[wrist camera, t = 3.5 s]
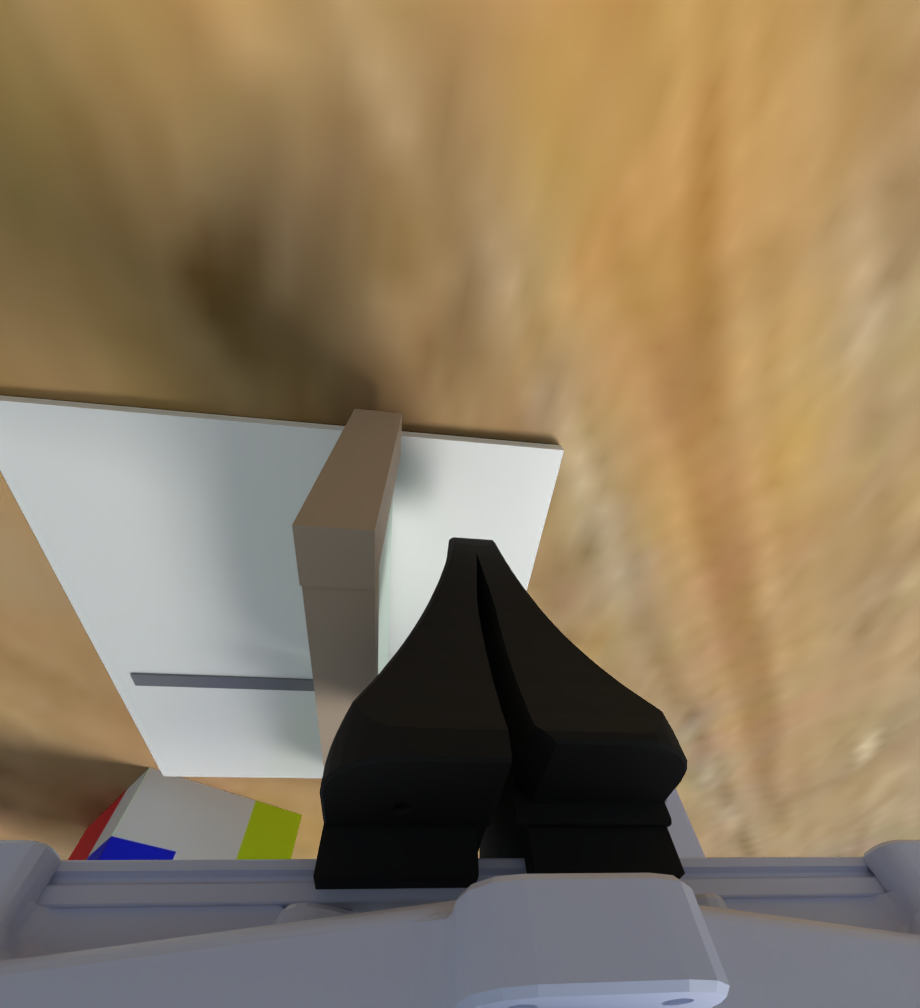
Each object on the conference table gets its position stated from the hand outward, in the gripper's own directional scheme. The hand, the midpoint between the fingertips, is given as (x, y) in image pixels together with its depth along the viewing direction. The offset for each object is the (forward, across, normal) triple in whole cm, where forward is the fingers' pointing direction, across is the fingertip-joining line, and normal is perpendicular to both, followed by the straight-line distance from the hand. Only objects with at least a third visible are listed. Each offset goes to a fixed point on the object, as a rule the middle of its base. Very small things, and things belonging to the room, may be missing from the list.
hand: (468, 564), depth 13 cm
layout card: (+3, +6, +8) cm, 10 cm away
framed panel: (+2, +3, +2) cm, 4 cm away
